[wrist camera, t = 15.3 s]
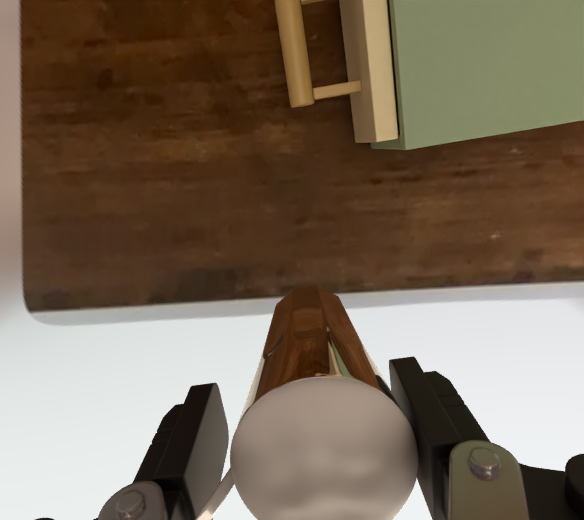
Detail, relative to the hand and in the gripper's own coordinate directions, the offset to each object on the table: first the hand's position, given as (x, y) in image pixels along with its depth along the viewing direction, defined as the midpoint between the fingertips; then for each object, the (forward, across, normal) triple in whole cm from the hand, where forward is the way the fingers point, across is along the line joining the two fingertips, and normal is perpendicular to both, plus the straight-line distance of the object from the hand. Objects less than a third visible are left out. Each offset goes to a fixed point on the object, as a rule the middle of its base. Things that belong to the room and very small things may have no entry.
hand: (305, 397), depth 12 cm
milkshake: (+6, 0, 0) cm, 6 cm away
